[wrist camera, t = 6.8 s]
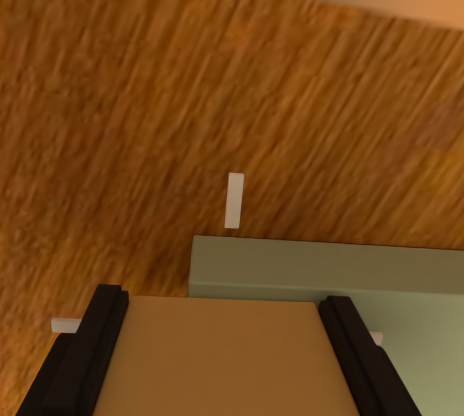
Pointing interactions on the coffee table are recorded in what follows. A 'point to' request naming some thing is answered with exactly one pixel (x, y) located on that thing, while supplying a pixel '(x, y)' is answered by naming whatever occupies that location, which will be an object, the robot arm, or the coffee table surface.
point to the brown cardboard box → (223, 361)
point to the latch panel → (354, 286)
